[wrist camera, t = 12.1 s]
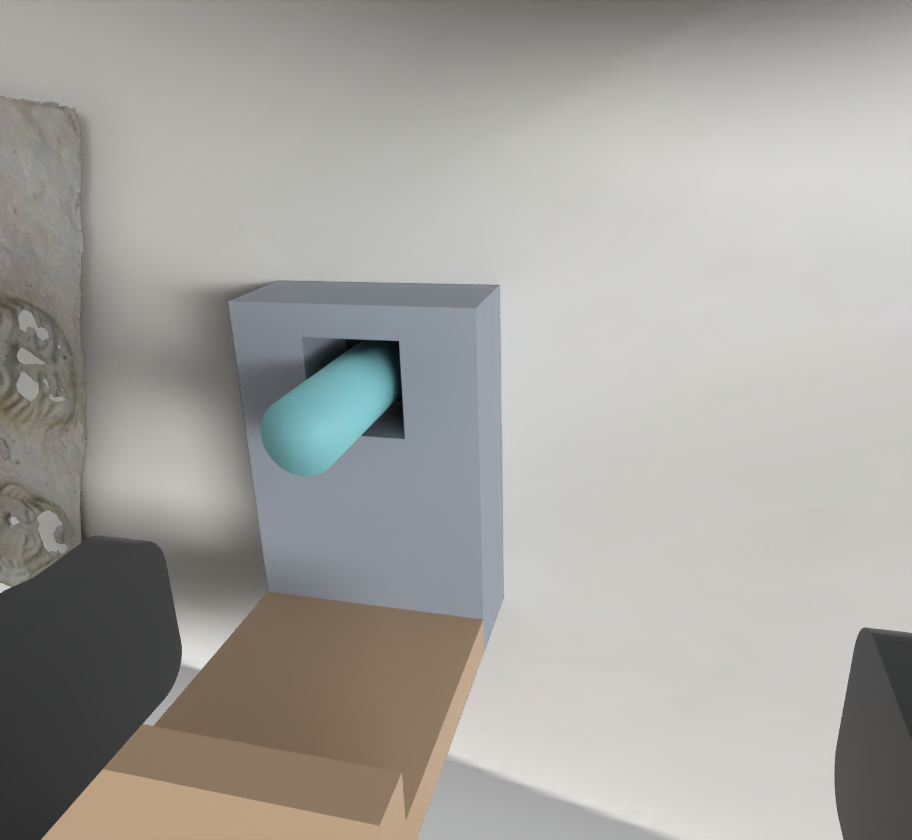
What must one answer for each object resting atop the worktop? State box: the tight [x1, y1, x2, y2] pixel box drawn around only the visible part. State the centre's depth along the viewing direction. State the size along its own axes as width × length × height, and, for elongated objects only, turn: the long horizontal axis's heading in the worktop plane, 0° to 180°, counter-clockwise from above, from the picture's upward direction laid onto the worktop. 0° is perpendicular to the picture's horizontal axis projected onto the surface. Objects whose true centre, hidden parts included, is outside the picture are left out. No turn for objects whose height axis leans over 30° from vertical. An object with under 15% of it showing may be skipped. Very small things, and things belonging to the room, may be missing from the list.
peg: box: [261, 340, 402, 477], centre depth 36 cm, size 3×3×11 cm
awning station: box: [41, 281, 504, 840], centre depth 33 cm, size 18×14×22 cm
